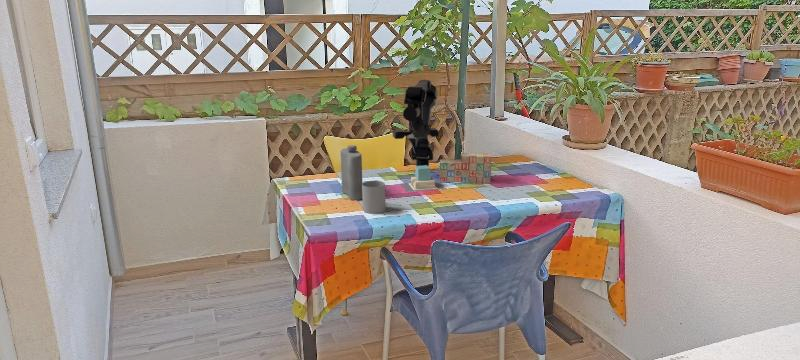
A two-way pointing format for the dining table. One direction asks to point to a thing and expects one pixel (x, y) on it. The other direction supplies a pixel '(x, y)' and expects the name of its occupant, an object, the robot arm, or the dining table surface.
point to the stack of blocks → (467, 169)
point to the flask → (351, 172)
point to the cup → (373, 197)
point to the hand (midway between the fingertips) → (415, 153)
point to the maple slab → (422, 183)
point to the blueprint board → (409, 188)
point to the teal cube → (422, 173)
